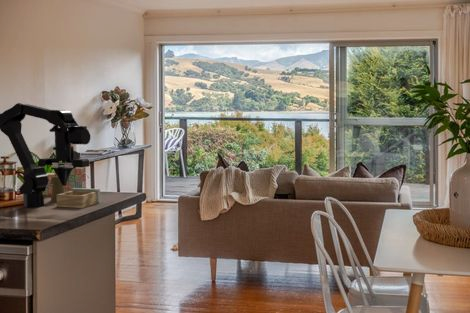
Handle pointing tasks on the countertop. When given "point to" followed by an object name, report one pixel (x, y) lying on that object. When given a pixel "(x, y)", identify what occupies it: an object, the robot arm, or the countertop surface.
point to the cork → (56, 188)
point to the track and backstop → (89, 191)
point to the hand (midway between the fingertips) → (64, 185)
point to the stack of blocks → (69, 180)
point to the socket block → (76, 199)
